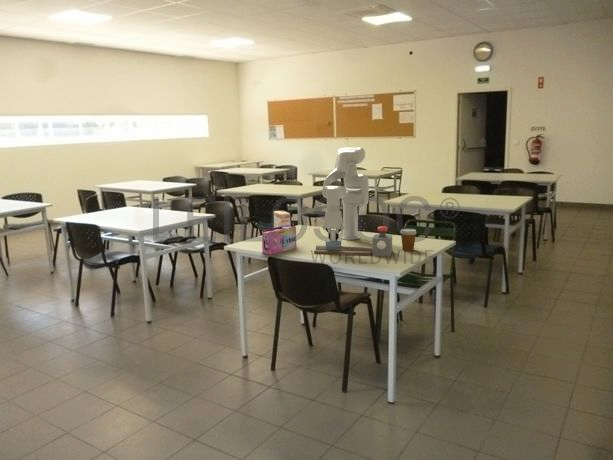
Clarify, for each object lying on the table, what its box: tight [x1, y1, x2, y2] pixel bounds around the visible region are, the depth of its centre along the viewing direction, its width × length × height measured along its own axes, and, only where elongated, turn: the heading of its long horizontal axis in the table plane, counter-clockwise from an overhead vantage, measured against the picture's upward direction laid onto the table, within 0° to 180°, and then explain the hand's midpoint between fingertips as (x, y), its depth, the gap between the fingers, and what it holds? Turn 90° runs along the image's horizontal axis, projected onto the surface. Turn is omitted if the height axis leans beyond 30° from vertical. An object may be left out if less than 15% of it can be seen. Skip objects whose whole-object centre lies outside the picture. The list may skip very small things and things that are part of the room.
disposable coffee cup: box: [399, 228, 417, 252], centre depth 302 cm, size 10×10×12 cm
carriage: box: [325, 229, 342, 250], centre depth 301 cm, size 7×8×11 cm
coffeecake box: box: [273, 210, 291, 228], centre depth 332 cm, size 15×7×20 cm, turn 20°
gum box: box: [261, 225, 297, 256], centre depth 307 cm, size 24×8×14 cm, turn 141°
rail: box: [313, 244, 373, 256], centre depth 300 cm, size 12×33×4 cm, turn 76°
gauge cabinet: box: [372, 233, 393, 257], centre depth 294 cm, size 12×10×10 cm
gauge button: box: [377, 225, 389, 238], centre depth 293 cm, size 6×6×9 cm
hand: (333, 239), depth 301 cm, fingers closed on carriage, 3 cm apart
